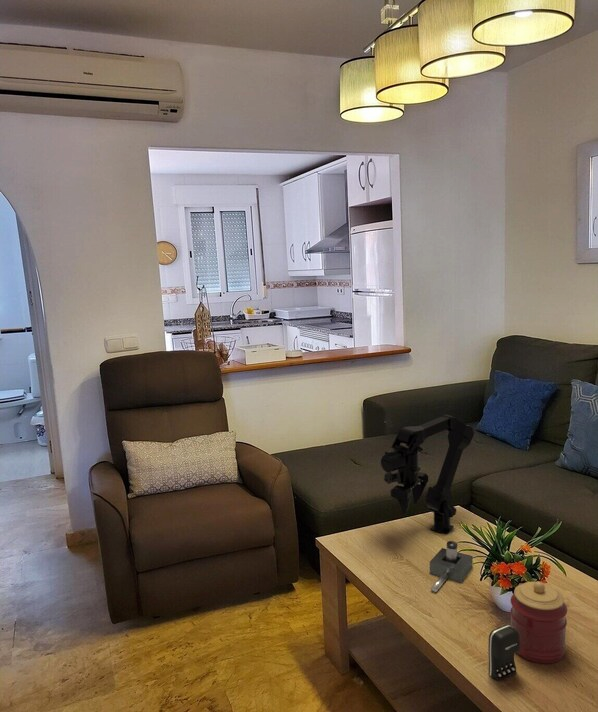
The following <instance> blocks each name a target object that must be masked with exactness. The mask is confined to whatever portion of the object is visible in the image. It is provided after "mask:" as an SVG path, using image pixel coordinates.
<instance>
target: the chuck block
mask: <svg viewBox="0 0 598 712" xmlns="http://www.w3.org/2000/svg"><path fill="white" fill-rule="evenodd" d="M446 549H447V548H444V547H441V549H440V550H438V552H437V553H436V554H435V555H434V556H433V558H431V560H430V561H429V574H430V575H433V576H437V577H439V578H438V579H437V580H436V581H435V583H433V585H432V586H431V587H430V591H431V592H432V593H435V594H436V593H437V592H438V590H439V589H440V588H441V587H442V586H443V584H444V583H445V581H447V580H450V581H453V582H457V583H460V584H461V583H462V582H463V581H464V580H465V579H466V578H467V576H468V575H469V573H470V572H471V571H472V570H473V568H474V567H473V566H474V565H471V564H472V563H473V558H474V557H473V555H470V554H466V553H462V552H458V551H457V563H456V564H453V563H450V562H446ZM473 564H474V563H473Z"/></svg>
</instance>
